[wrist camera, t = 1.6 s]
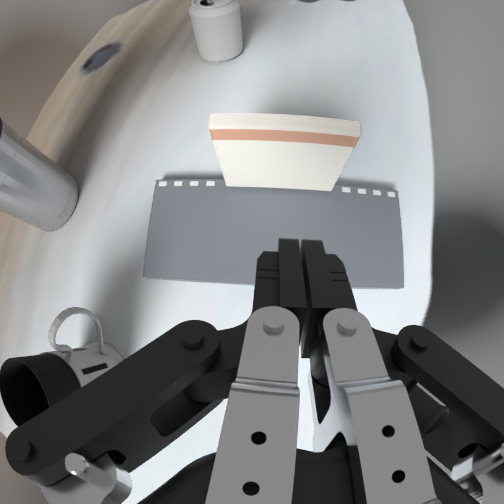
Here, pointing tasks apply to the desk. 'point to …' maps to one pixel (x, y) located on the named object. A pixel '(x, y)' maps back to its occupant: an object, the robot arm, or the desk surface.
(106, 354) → the glass holder
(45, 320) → the desk surface
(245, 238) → the board
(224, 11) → the can
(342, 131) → the white square panel
